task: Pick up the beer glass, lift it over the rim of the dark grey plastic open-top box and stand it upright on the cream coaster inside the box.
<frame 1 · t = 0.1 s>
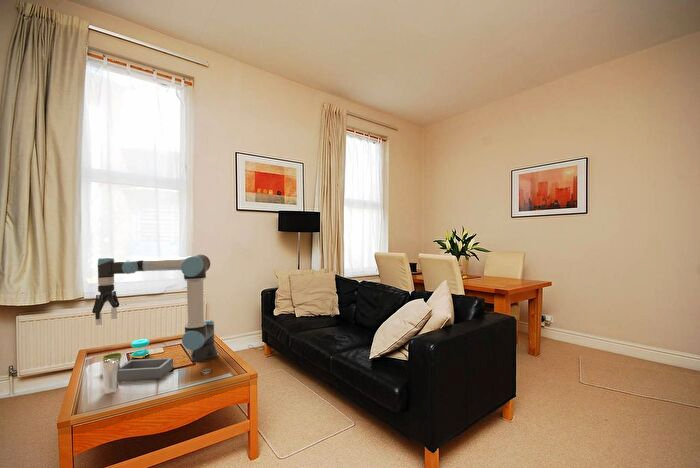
hand: (106, 321, 189), 28 cm above the table, tool pointing down, fingers open, 13 cm apart
open box: (144, 375, 181), on the table
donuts: (140, 356, 211), on the table
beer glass: (111, 391, 163), on the table
plant pot: (112, 371, 188), on the table
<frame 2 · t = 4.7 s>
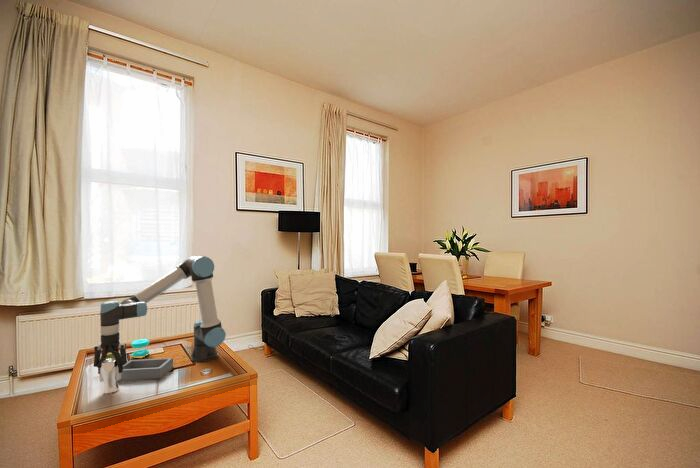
hand: (110, 379, 163), 6 cm above the table, tool pointing down, fingers closed on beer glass, 7 cm apart
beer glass: (111, 391, 163), on the table, touching gripper
everything else where it was.
when the fingers open (7 cm above the table, at t = 11.2 s): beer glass stays where it is, resting on open box.
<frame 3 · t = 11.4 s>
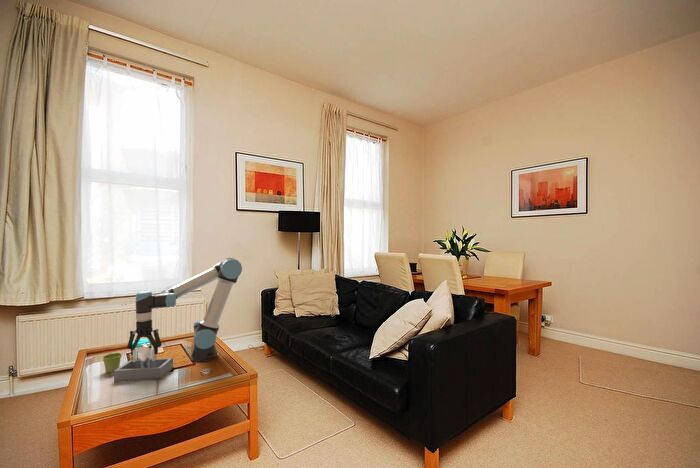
hand: (144, 360, 182), 8 cm above the table, tool pointing down, fingers open, 9 cm apart
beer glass: (145, 373, 181), point 1 cm above the table, touching open box
everything else where it was.
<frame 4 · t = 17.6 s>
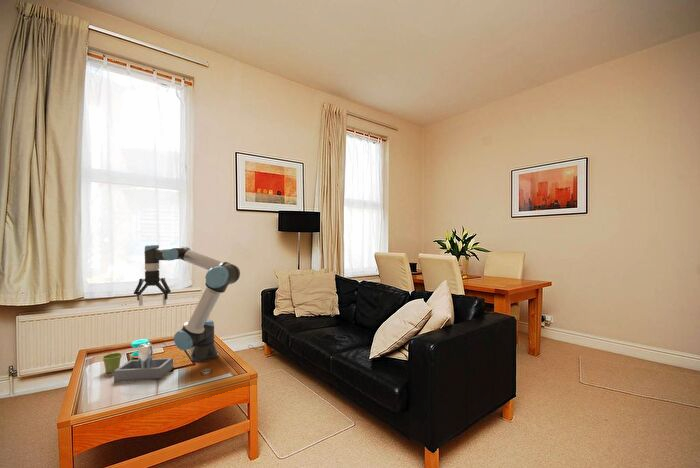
hand: (152, 305, 199), 35 cm above the table, tool pointing down, fingers open, 13 cm apart
nothing on the table moved.
at the end: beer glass inside the target area on the open box (0.6 cm from its centre), point 1.1 cm above the open box's base; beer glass tilted 0°; the gripper is holding nothing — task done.
